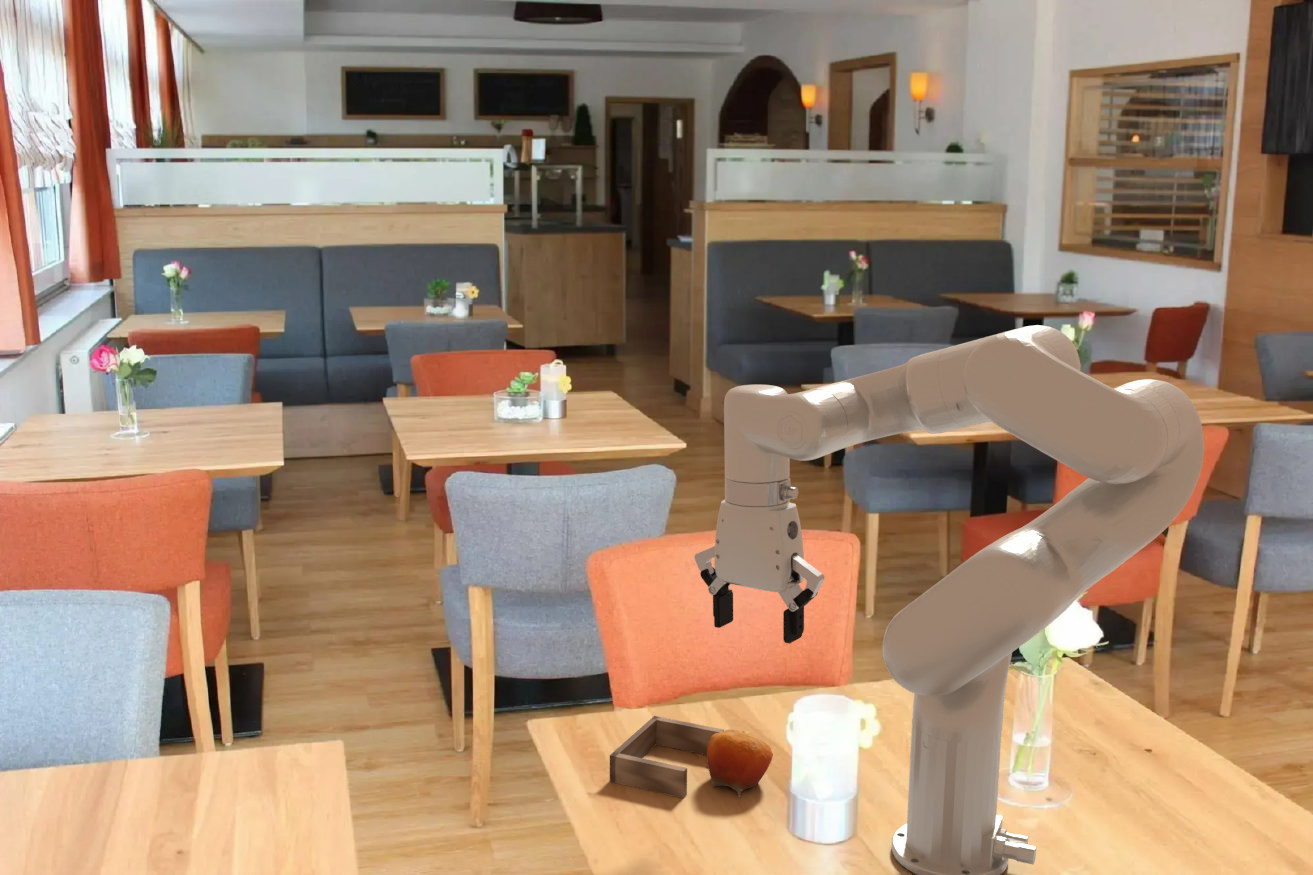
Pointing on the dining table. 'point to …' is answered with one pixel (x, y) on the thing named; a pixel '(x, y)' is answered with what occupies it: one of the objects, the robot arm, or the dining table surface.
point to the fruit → (737, 759)
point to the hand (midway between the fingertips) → (757, 632)
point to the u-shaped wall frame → (653, 774)
